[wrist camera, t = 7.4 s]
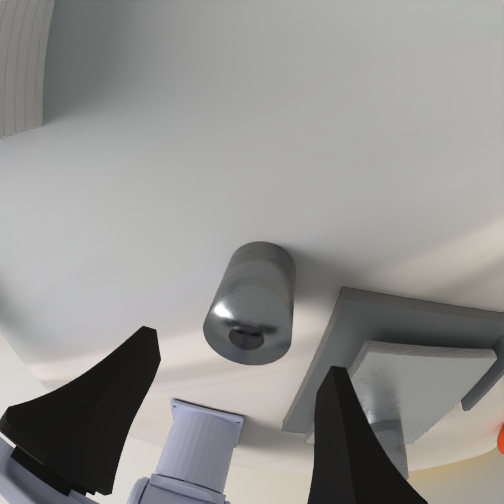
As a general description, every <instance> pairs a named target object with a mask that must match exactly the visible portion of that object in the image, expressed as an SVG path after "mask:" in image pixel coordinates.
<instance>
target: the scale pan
mask: <svg viewBox="0 0 504 504" xmlns="http://www.w3.org/2000/svg"><path fill="white" fill-rule="evenodd" d="M496 360H497V356H496V354H495V352H494V350H493V349H466V348H447V347H433V346H420V345H409V344H398V343H389V342H380V341H371V340H366V341H365V343H364V344H363V346H362V348H361V350H360V352H359V353H358V355H357V357H356V359H355V360H354V362H353V364H352V365H351V367H350V369H349V370H348V374H349V376H350V379H351V382H352V384H353V387H354V390H355V392H356V394H357V397H358V399H359V402H360V404H361V406H362V409H363V411H364V413H365V415H366V417H367V420H368V422H369V424H372V423H375V422H379V421H384V420H398V421H400V422H401V423H402V428H403V434H404V441H405V444H411V443H413V442H414V441H415V440H417V439H418V438H419V437H420V436H422V435H423V434H424V433H425V432H426V431H428V430H429V429H430V428H431V427H432V426H433V425H435V424H436V423H437V422H438V421H439V420H440V419H441V418H442V417H444V416H445V415H446V414H447V413H448V412H449V411H450V410H451V409H452V408H453V407H454V406H455V405H456V404H457V403H458V402H459V401H460V400H461V399H462V398H463V397H464V396H465V395H466V394H467V393H468V392H469V391H470V390H471V389H472V388H473V387H474V385H475V384H476V383H477V382H478V381H479V380H480V379H481V378H482V376H483V375H484V374H485V373H486V372H487V371H488V369H489V368H490V367H491V366H492V365H493V363H494V362H495V361H496ZM305 443H309V444H314V424H313V425H312V426H311V428H310V429H309V430H308V432H307V433H306V436H305Z"/></svg>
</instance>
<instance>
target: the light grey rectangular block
mask: <svg viewBox="0 0 504 504" xmlns="http://www.w3.org/2000/svg"><path fill="white" fill-rule="evenodd" d="M54 4H55V0H0V139H1V138H3V137H7V136H10V135H13V134H16V133H19V132H23V131H25V130H29V129H33V128H37V127H40V126H43V85H44V70H45V59H46V50H47V43H48V36H49V30H50V24H51V19H52V14H53V9H54Z"/></svg>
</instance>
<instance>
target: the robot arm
mask: <svg viewBox="0 0 504 504" xmlns="http://www.w3.org/2000/svg"><path fill="white" fill-rule="evenodd" d="M160 361H161V357H160V351H159V345H158V338H157V331H156V329H152V328H149V327H145V326H142V327H141V328H140V329H138V330H137V331H136V332H135V333H134V334H133V335H132V336H131V337H129V338H128V339H127V340H126V341H125V342H124V343H123V344H121V345H120V346H119V347H118V348H117V349H115V350H114V351H113V352H112V353H111V354H109V355H108V356H107V357H106V358H104V359H103V360H102V361H101V362H99V363H98V364H96V365H95V366H94V367H92V368H91V369H90V370H88V371H87V372H85V373H84V374H82V375H81V376H79V377H78V378H76V379H74V380H73V381H71V382H69V383H68V384H66V385H64V386H62V387H60V388H58V389H56V390H54V391H52V392H50V393H48V394H45V395H43V396H41V397H38V398H36V399H34V400H30V401H27V402H24V403H21V404H17V405H14V406H10V407H8V408H7V410H6V411H5V413H4V415H3V416H2V418H1V419H0V432H1V433H3V434H4V435H5V436H6V437H7V438H8V439H9V440H11V441H12V442H13V443H14V444H15V445H16V447H15V448H13V447H12V446H10V445H9V444H8V443H7V442H6V441H5V440H3V439H2V438H1V437H0V494H1V495H2V496H3V497H4V498H5V499H6V500H7V502H8V503H9V504H99V503H97V502H95V501H93V500H91V499H89V498H87V497H85V496H86V493H87V492H88V493H90V494H92V495H95V492H98V493H100V494H102V495H109V494H112V489H113V484H114V479H115V475H116V471H117V467H118V463H119V460H120V456H121V452H122V450H123V446H124V443H125V440H126V438H127V435H128V432H129V429H130V426H131V424H132V422H133V420H134V417H135V415H136V414H137V412H138V410H139V408H140V406H141V404H142V402H143V400H144V398H145V396H146V394H147V392H148V390H149V388H150V386H151V384H152V382H153V380H154V378H155V375H156V372H157V369H158V367H159V364H160ZM170 406H171V411H172V415H173V420H174V422H173V425H172V427H171V430H170V433H169V436H168V438H167V441H166V444H165V446H164V449H163V452H162V455H161V457H160V460H159V463H158V465H157V469H156V471H155V474H152V475H151V477H150V478H147V477H143V478H141V479H138V480H137V482H136V483H135V485H134V487H133V489H132V491H131V493H130V496H129V498H128V501H127V504H230V502H229V501H225V497H226V495H223V491H224V487H225V482H226V478H227V474H228V470H229V465H230V461H231V457H232V452H233V448H236V447H237V444H238V440H239V437H240V433H241V429H242V426H243V422H244V418H243V417H242V416H238V415H233V414H228V413H224V412H219V411H215V410H211V409H207V408H203V407H199V406H195V405H192V404H188V403H184V402H181V401H177V400H174V399H173V400H171V401H170ZM307 504H428V503H427V501H426V500H425V499H423V498H422V497H421V496H420V495H419V494H418V493H417V492H416V491H415V490H414V489H413V488H412V486H411V485H410V484H409V483H408V482H407V481H406V480H405V478H404V477H403V476H402V475H401V473H400V472H399V471H398V469H397V468H396V467H395V465H394V464H393V463H392V461H391V460H390V458H389V457H388V455H387V454H386V452H385V451H384V449H383V448H382V446H381V444H380V443H379V441H378V439H377V437H376V435H375V434H374V432H373V430H372V428H371V426H370V424H369V422H368V420H367V417H366V415H365V413H364V411H363V409H362V406H361V404H360V402H359V399H358V397H357V394H356V392H355V390H354V387H353V384H352V382H351V379H350V376H349V374H348V371H347V369H346V367H338V366H331V367H330V369H329V371H328V373H327V375H326V376H325V378H324V380H323V382H322V384H321V385H320V387H319V389H318V391H317V394H316V402H315V412H314V468H313V475H312V482H311V488H310V493H309V498H308V503H307Z"/></svg>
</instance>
